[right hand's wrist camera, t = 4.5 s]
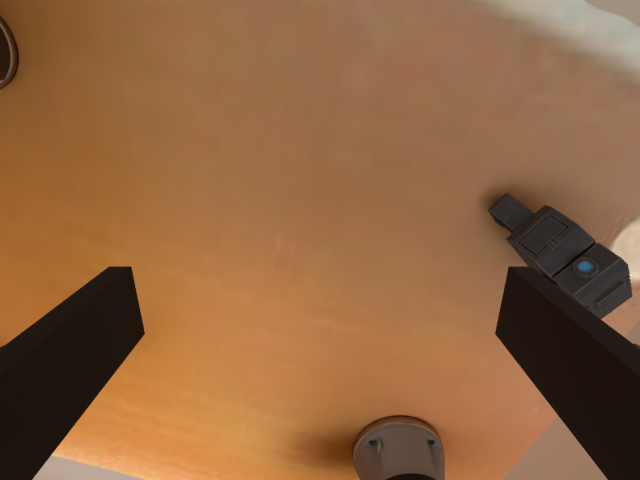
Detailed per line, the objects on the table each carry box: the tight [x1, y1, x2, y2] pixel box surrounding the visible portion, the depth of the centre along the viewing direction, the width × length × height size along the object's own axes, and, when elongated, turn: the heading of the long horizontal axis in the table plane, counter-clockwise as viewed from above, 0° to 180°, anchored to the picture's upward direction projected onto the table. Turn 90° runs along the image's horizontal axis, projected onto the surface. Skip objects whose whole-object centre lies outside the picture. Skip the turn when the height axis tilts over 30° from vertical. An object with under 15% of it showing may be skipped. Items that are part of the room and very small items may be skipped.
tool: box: [488, 193, 632, 319], centre depth 44 cm, size 6×19×15 cm, turn 48°
